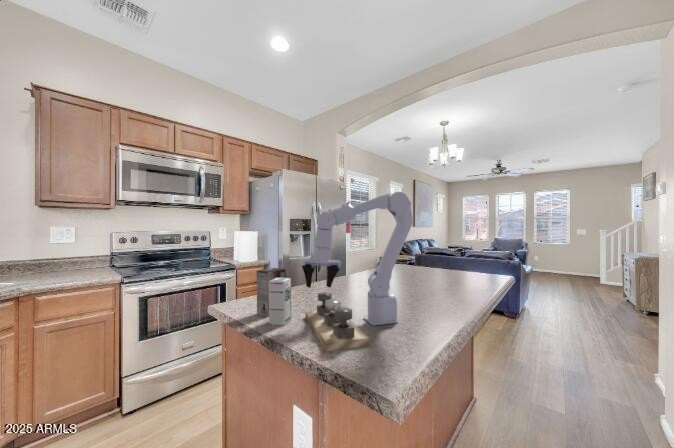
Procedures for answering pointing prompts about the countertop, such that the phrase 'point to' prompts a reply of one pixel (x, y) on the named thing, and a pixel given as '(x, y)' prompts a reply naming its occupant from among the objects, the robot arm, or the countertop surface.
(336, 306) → the knob middle
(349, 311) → the knob
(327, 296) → the knob
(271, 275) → the coffee box
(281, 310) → the syrup box
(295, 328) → the countertop surface
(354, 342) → the mount board
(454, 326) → the countertop surface
